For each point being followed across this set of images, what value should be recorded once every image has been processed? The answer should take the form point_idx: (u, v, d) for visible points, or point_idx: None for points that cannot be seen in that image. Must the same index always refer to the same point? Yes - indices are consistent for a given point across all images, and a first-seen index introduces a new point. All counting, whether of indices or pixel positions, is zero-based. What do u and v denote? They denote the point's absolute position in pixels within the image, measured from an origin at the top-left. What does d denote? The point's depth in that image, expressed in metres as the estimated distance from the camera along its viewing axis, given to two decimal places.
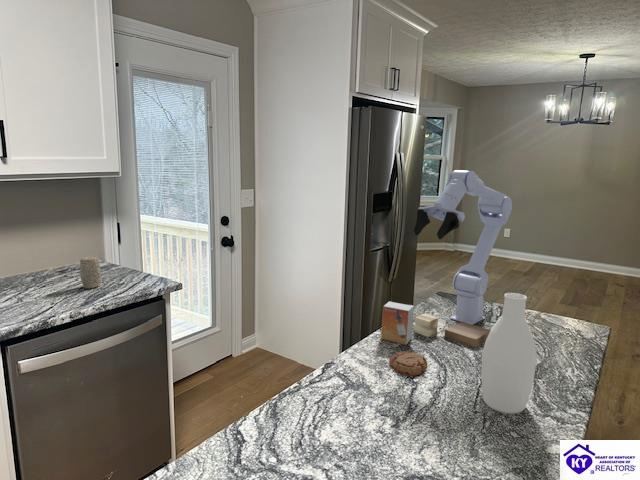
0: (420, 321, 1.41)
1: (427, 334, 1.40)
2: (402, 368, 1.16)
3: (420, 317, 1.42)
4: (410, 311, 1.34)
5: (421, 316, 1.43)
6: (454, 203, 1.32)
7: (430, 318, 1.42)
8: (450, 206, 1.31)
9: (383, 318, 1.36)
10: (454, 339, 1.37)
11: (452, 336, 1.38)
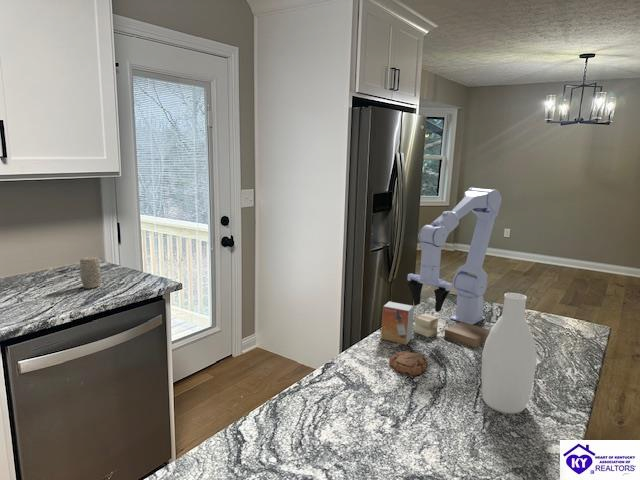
0: (420, 321, 1.41)
1: (427, 334, 1.40)
2: (402, 368, 1.16)
3: (420, 317, 1.42)
4: (410, 311, 1.33)
5: (421, 316, 1.43)
6: (436, 271, 1.37)
7: (430, 318, 1.42)
8: (434, 277, 1.37)
9: (383, 318, 1.36)
10: (454, 339, 1.37)
11: (452, 336, 1.38)
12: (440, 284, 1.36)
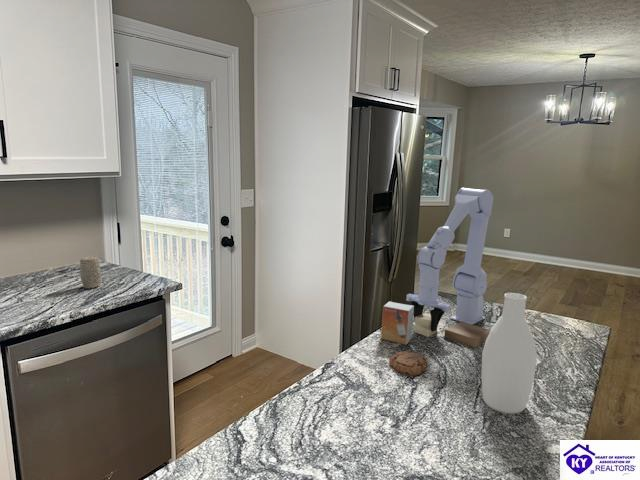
0: (420, 321, 1.41)
1: (427, 334, 1.40)
2: (402, 368, 1.16)
3: (420, 317, 1.42)
4: (410, 311, 1.34)
5: (421, 316, 1.43)
6: (434, 293, 1.38)
7: (430, 317, 1.42)
8: (433, 298, 1.38)
9: (383, 318, 1.36)
10: (454, 339, 1.37)
11: (452, 336, 1.38)
12: (438, 306, 1.37)
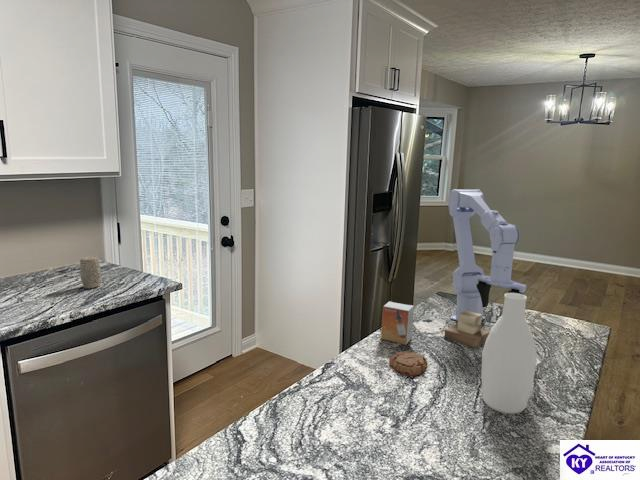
0: (464, 318, 1.37)
1: (472, 331, 1.36)
2: (401, 368, 1.16)
3: (463, 314, 1.38)
4: (410, 311, 1.33)
5: (464, 313, 1.39)
6: (509, 272, 1.32)
7: (474, 315, 1.38)
8: (507, 278, 1.33)
9: (383, 318, 1.36)
10: (454, 339, 1.37)
11: (452, 336, 1.38)
12: (514, 286, 1.31)
